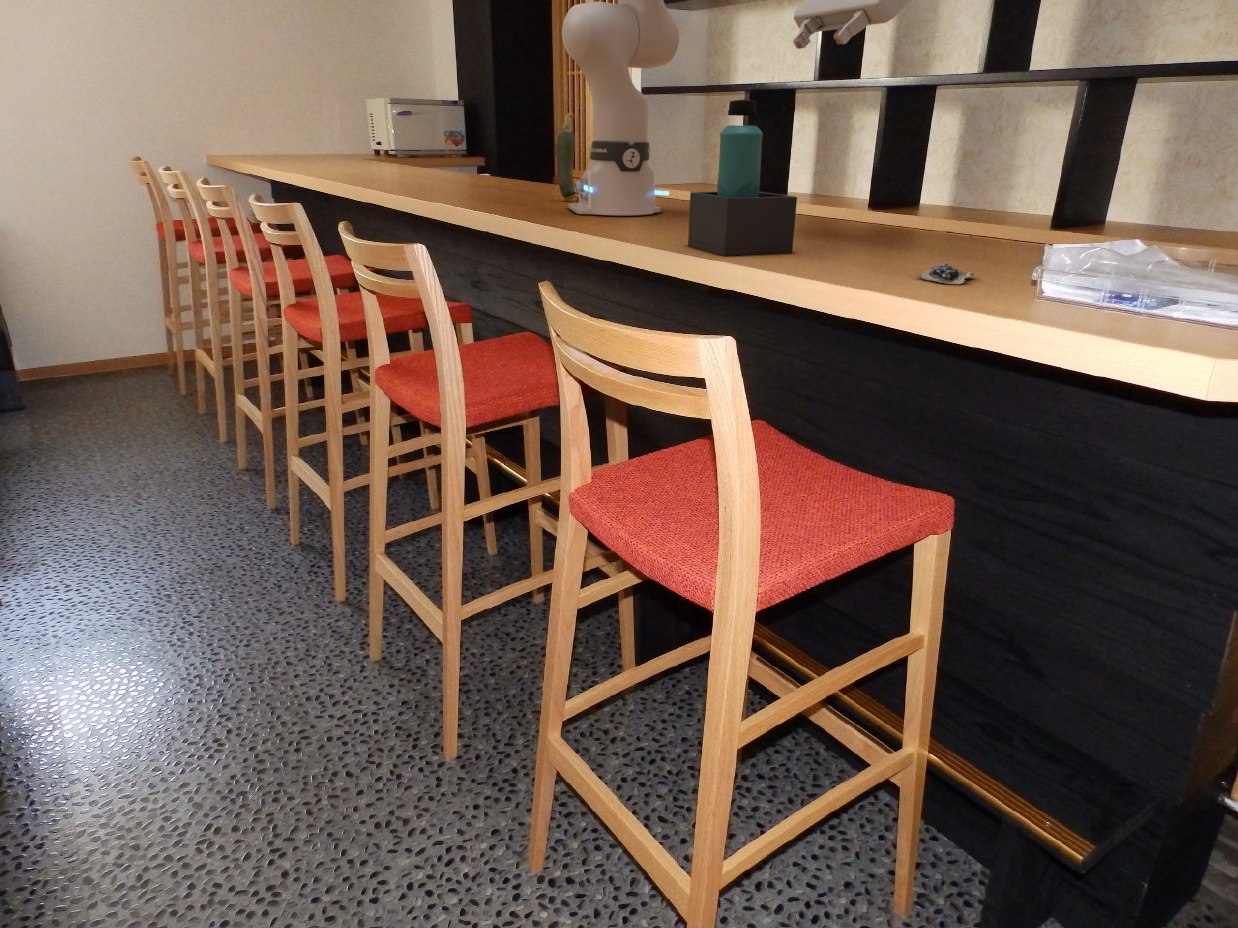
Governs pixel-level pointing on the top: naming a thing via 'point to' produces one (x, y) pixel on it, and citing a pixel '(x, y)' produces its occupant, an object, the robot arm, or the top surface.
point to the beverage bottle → (740, 155)
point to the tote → (742, 223)
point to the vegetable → (566, 158)
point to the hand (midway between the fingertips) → (817, 43)
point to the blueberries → (945, 274)
